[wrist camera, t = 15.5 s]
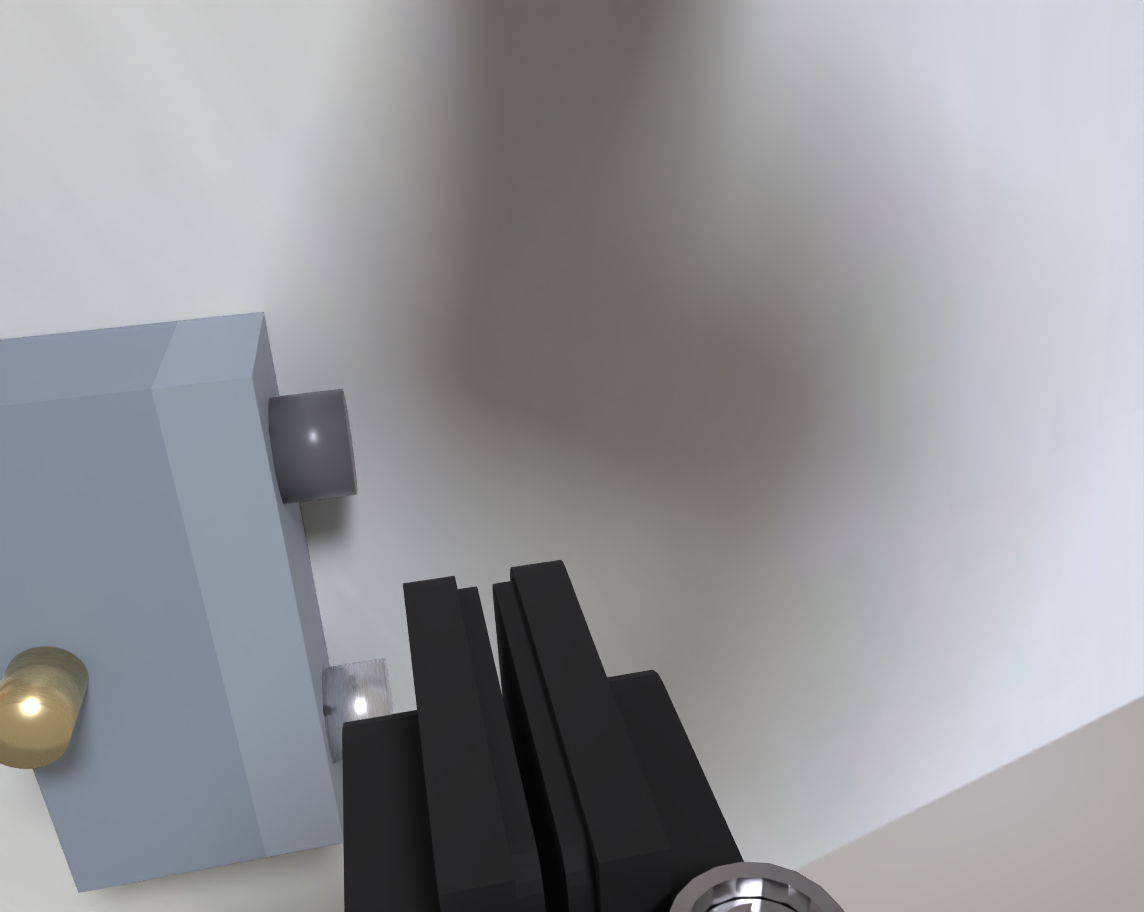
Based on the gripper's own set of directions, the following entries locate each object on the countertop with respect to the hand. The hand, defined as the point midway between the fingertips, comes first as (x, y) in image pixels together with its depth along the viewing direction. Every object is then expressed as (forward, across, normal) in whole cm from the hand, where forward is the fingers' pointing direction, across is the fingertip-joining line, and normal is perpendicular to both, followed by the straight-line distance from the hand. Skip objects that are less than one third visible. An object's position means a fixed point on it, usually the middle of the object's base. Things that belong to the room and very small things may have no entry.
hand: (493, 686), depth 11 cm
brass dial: (+23, +13, +15) cm, 30 cm away
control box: (+29, +10, +15) cm, 34 cm away
